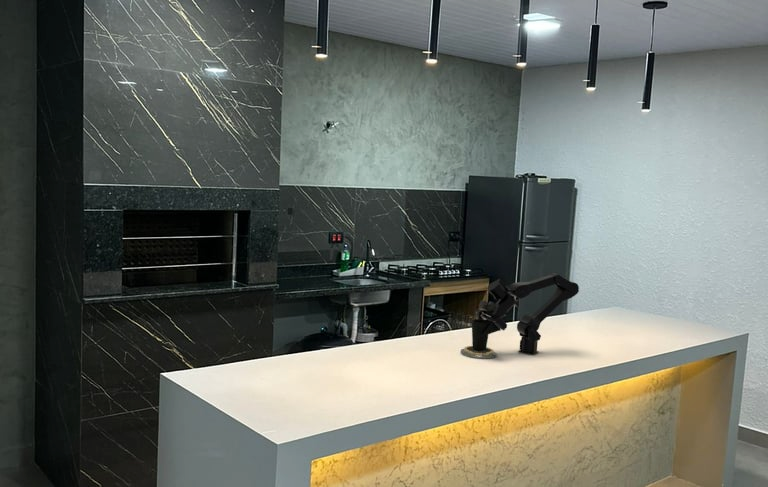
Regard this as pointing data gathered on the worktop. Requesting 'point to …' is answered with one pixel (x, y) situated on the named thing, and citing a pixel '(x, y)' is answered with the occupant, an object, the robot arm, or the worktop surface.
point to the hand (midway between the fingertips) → (477, 333)
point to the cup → (479, 334)
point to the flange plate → (478, 353)
